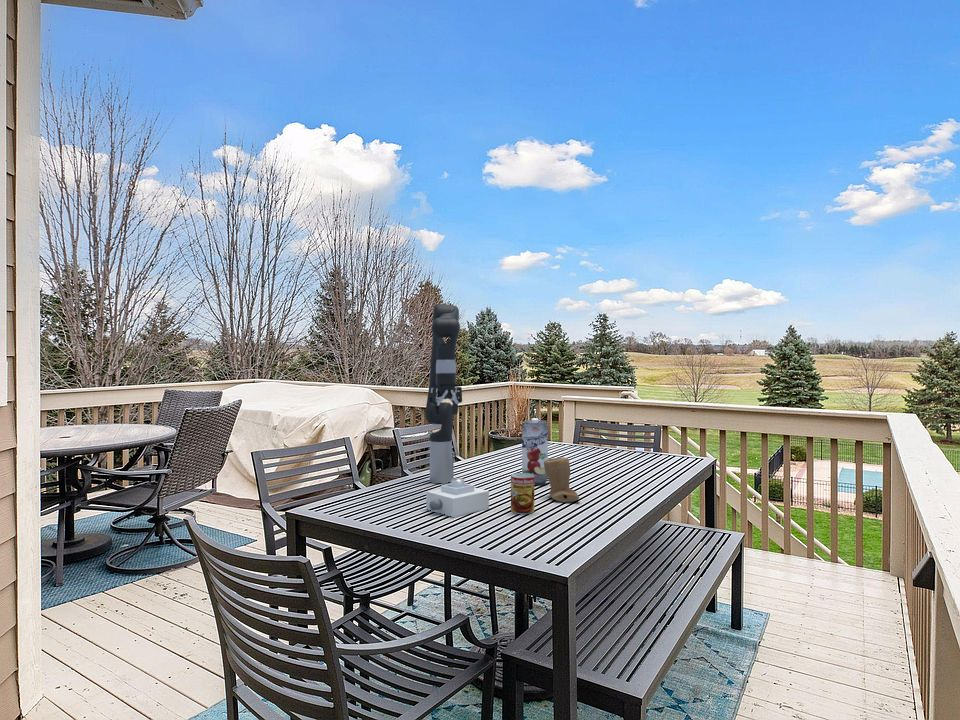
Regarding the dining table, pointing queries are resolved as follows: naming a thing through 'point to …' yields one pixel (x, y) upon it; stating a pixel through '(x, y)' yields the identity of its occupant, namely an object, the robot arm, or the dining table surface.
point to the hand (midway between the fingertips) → (445, 415)
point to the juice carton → (535, 449)
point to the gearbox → (457, 500)
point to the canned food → (522, 493)
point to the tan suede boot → (559, 479)
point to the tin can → (457, 482)
